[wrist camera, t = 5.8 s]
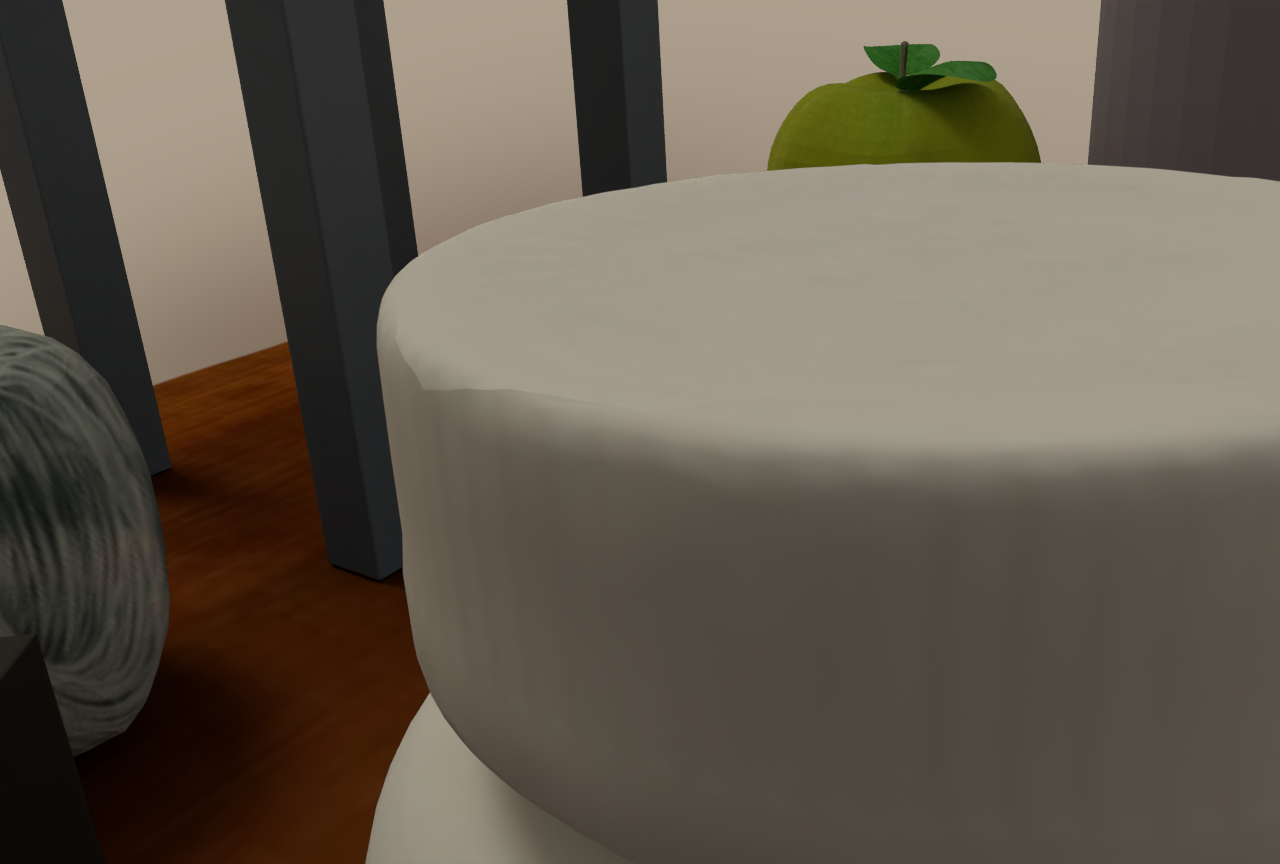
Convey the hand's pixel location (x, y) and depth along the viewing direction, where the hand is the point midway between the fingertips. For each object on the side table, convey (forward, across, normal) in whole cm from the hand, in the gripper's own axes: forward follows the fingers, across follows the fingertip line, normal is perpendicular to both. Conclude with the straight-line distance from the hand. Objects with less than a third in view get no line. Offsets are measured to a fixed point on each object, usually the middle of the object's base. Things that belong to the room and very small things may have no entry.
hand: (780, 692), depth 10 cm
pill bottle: (-3, 0, -7) cm, 7 cm away
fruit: (+31, +10, -7) cm, 33 cm away
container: (+27, +21, -7) cm, 35 cm away
